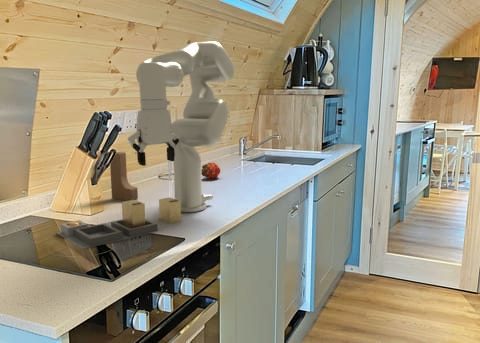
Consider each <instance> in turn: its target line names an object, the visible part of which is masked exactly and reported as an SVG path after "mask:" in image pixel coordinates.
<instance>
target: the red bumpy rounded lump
mask: <svg viewBox="0 0 480 343" xmlns="http://www.w3.org/2000/svg"><path fill="white" fill-rule="evenodd" d="M220 174H221V168H220V166H219V165H218V164H216V163H215V162H208V163H205V164H203V165H201V176H202V177H205V178H206V180H209V179H210V180H212V179H218V177H219V175H220Z"/></svg>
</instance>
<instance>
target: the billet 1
mask: <svg viewBox="0 0 480 343" xmlns="http://www.w3.org/2000/svg"><path fill="white" fill-rule="evenodd" d="M121 211H122V213H121V215H122V219H123V225H124V226H126V227H128V228H130V229H132V228H136V227H140V226H145V219H146V207H145V203H144V202H142V201H139V200H137V199H135V200H130V201H125V200H123V201H121Z"/></svg>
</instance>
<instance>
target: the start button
mask: <svg viewBox="0 0 480 343" xmlns="http://www.w3.org/2000/svg"><path fill="white" fill-rule="evenodd" d="M70 222H71V223H69V226H75V225H79V222H73V221H70Z"/></svg>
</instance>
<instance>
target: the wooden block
mask: <svg viewBox="0 0 480 343" xmlns="http://www.w3.org/2000/svg"><path fill="white" fill-rule="evenodd" d="M115 152H116V155H115V157H114V159H113V161H112V163H111V165H110V164H109V165H110V168H109V169H110V184H111V187H110V188H111V200H114V199H115V200H117V201H125V200H126V201H130V200H137V199H139V193H138V190H139V189H138V187H137V186H133V185H131V184H130V183H129V181H128V174H127V171H128V169H127V156H126V154H127V153H126V152H125V151H124V152H123V151H115ZM115 200H114V201H115Z"/></svg>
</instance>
